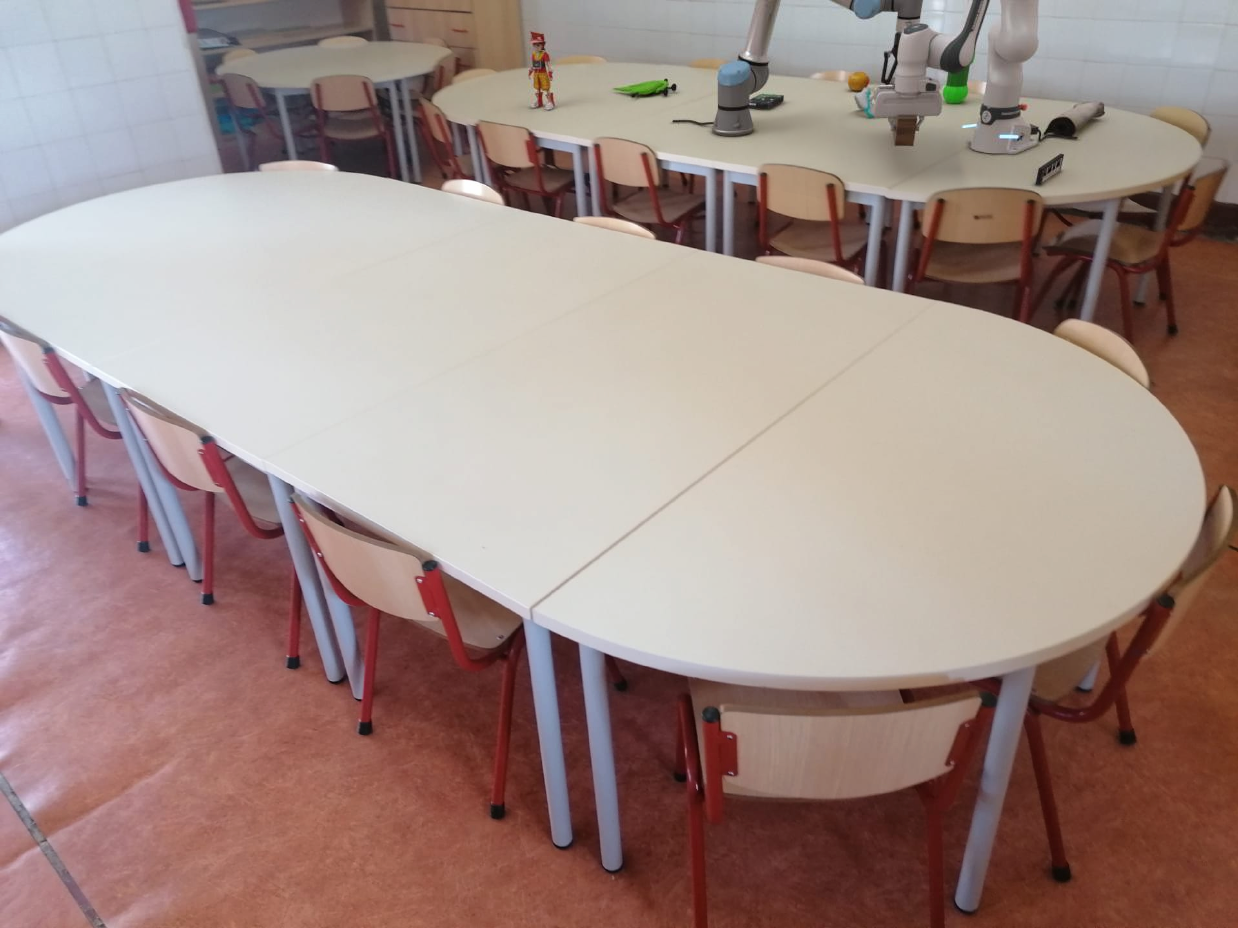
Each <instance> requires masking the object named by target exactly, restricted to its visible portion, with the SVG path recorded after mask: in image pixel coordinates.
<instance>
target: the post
mask: <svg viewBox="0 0 1238 928" xmlns="http://www.w3.org/2000/svg"><path fill="white" fill-rule="evenodd" d="M890 84H895V76H893V77H892V79H891V82H890ZM892 123H893V125H896V131H895V132H892V137H893V143H894V146H895V147H914V145H915V138H916V132H917V131H916V125H917V123H918V116H917V115H898V117H893V121H892Z"/></svg>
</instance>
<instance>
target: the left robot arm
mask: <svg viewBox="0 0 1238 928" xmlns="http://www.w3.org/2000/svg"><path fill="white" fill-rule="evenodd" d="M829 1H830V2H832V3H833V4H836V5H838V6H841V7H843V8H845V9H847V10H849V11H850V12H853V13H854V15H855V16H856V17H857V18H858V19H860V20H870V19H872V18H874V17H876V16H877V15H879V14H881V13H882V12H883V13H884V12H885V13H897V16H896V22H895V23H896V24H895V31H896V32H895V33H894V38H893V45H892V48H891V50H884V51H883V59H884V60H883V65H882V70H881V71H882V72H881V76H880V82H881V83H882V84H883V85H892V84H891V79H892V77H894V74H895V73H896V71H897V68H898V61H897V55H898V47H899V41H900V37H901V34H902V32H903V30H904V29H905V28H906V27H908V26H910V25H913V24H920V23H921V15H922V8H923V4H924V3H923V2H924V0H829ZM781 2H782V0H755V4H754V7H753V12H752V15H751V20H750V24H749V28H748V32H747V36H746V40H745V44H744V48H743V49H742V50H740V51H739V52H738V55H737V60H733V61H730V62H726V63H723V64H721V65H720V67H719V68H718V70H717V111H716V114H715V118H714V120H713V121H707V122H700V121H696V120H694V119H693V120H692V119H672V123H692V124H695V125H699V126H709V125H712V133H713V134H715V135H717V136H721V137H741V136H746V135H750V134H752V133H754V127H755V126H754V122H753V118H752V115H751V111H750V108H749V100H750V96H751V95H753V94H755V93H757V92H759V91H761V90H762V88H764V86H765V85H766V84H767V83H768V81H769V77H770V68H769V64H770V58H769V55H768V51H769V47H770V43H771V40H772V35H773V32H774V29H775V24H776V20H777V17H778V13H779V9H780V5H781ZM891 55H892V56H893V58H894V61H893V64H892V66H891V68H890V71H889V73H888V76H887V70H888V64H889V58H891ZM886 76H887V78H886ZM885 89H886V88H885Z"/></svg>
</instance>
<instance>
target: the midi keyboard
mask: <svg viewBox="0 0 1238 928" xmlns="http://www.w3.org/2000/svg"><path fill="white" fill-rule="evenodd" d="M1064 157H1065V153H1059V154H1058V155H1056V156H1055V157H1052V159H1051V160H1049V161H1047V162H1045V164H1042V165H1041V166H1039V167H1038V169H1037V175H1036V179H1035V186H1040V185H1042V183H1044V182H1045V181H1047V180H1048V179H1049V178H1051V177H1052V176H1054V175H1055V174H1056V173H1058V172H1060V171H1061V170H1062V165H1063V161H1064Z"/></svg>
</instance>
